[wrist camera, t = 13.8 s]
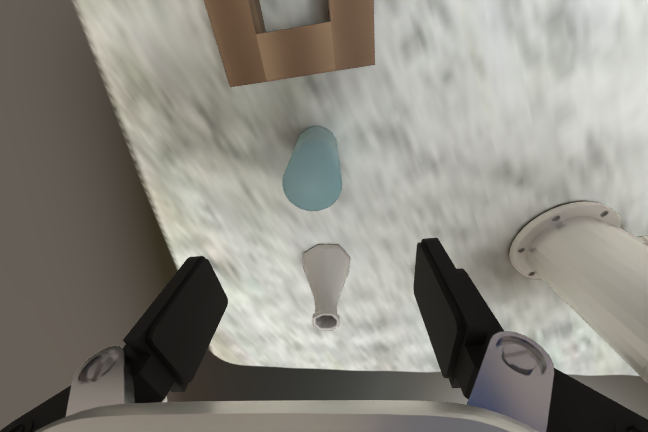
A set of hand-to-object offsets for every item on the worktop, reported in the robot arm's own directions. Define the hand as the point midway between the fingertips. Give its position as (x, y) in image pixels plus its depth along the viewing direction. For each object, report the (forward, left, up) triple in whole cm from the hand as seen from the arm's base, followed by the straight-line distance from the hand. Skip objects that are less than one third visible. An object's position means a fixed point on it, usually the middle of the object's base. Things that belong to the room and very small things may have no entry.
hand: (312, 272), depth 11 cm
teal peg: (0, 0, -19) cm, 19 cm away
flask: (+2, +17, -19) cm, 25 cm away
